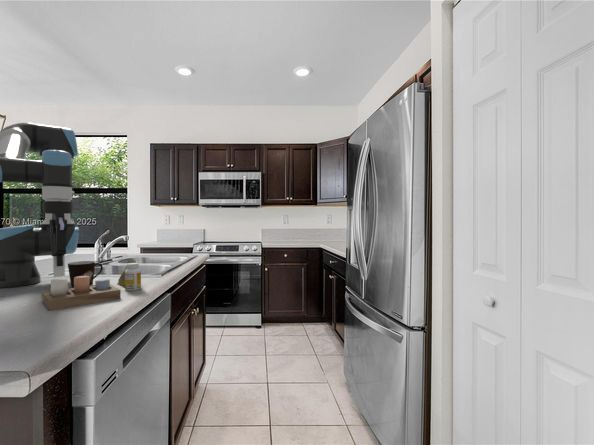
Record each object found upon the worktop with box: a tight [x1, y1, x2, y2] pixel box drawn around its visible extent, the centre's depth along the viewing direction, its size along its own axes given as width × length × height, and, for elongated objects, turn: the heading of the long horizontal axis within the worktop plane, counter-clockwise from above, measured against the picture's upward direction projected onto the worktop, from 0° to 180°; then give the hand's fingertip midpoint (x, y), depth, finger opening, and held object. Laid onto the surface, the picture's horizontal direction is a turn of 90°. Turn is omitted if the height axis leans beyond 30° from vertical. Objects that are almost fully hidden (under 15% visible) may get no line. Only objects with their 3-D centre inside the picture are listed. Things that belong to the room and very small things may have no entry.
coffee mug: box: [67, 260, 104, 288], centre depth 121 cm, size 12×9×10 cm
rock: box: [117, 259, 138, 287], centre depth 127 cm, size 11×9×10 cm
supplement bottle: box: [124, 262, 142, 292], centre depth 121 cm, size 5×5×10 cm
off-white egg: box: [50, 277, 69, 297], centre depth 102 cm, size 4×4×5 cm
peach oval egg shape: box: [74, 276, 90, 294], centre depth 106 cm, size 4×4×5 cm
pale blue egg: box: [94, 278, 111, 291], centre depth 110 cm, size 4×4×5 cm
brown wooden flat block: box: [41, 283, 122, 311], centre depth 106 cm, size 14×19×3 cm
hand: (59, 276), depth 101 cm, fingers closed
